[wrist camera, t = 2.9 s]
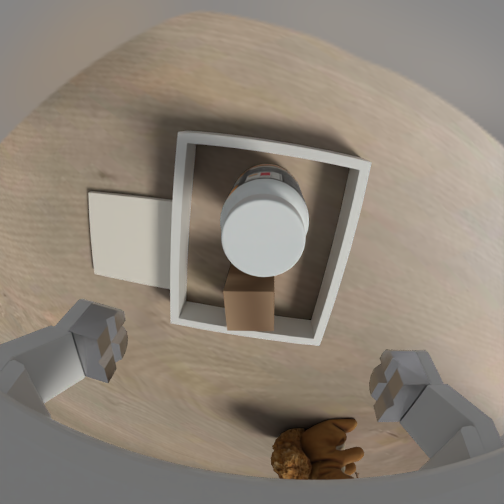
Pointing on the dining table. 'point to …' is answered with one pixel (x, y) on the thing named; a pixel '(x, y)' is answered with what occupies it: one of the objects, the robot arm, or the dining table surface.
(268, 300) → the walnut block
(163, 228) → the coaster
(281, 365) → the dining table surface
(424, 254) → the dining table surface
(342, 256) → the tray frame
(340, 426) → the stuffed squirrel
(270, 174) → the pill bottle
